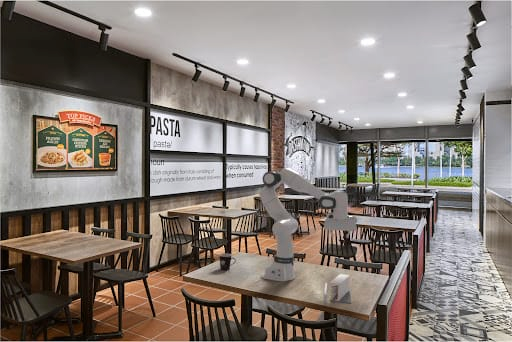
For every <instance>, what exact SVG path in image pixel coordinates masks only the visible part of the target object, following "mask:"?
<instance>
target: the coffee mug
mask: <svg viewBox="0 0 512 342" xmlns="http://www.w3.org/2000/svg"><path fill="white" fill-rule="evenodd" d="M218 256H219V266H220V268H219V269H220V270H221V271H230V270H231V266H232V265H234V264H235V263H236V262H237V260H236V258H235V257H232V254H231V253H220V254H218ZM232 259H233V260H234V261H233V263H231V261H232Z"/></svg>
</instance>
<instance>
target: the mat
mask: <svg viewBox="0 0 512 342" xmlns="http://www.w3.org/2000/svg"><path fill="white" fill-rule="evenodd" d="M332 302H333V303H338V304H339V303H340V304H352V295H351V290H350V289H349V291H348V292H347V293H346V294H345V295H344V296H343V297H342V298H341V299H340V301H336V300H332Z"/></svg>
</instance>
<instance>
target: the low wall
mask: <svg viewBox="0 0 512 342" xmlns="http://www.w3.org/2000/svg"><path fill="white" fill-rule="evenodd" d="M327 295H328V283H327V282H325V283H324V293H323V301H324V302H327V297H328V296H327Z"/></svg>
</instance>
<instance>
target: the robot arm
mask: <svg viewBox="0 0 512 342" xmlns="http://www.w3.org/2000/svg"><path fill="white" fill-rule="evenodd" d="M262 183H263V185H264V187H263V188H261V189H260V190H259V193H258V194H259V195H258V196H259V199H260V200H261V202H262V205H263V206H264V208H265V210H266V212H267V214H268V216H269V217H271V218H272V219H273V220H275V222H274V224H273V225H272V228H271V230H272V234H273V235H274V237H275V241H276V254H274V255H273V261H272V262H270V263H268V264H267V265H266V266H265V269H264V272H262V273H261V276H260V278H262V279H266V280H270V281H277V282H288V281H292V280H295V278H296V275H295V269H294V265H295V256H294V247H295V246H294V245H295V244H294V243H293V241H292V237H291V236H292V234H295V232H296V231H297V230H298V228H299V222H298V220H297V219H296V218H295V217H293V216H292V215H291V214H290V213H289V212H288V211H287V209H286V208H285V207H284V205H283V203H282V202H281V201H280V199H279V197H278V195H277V193H276V191H277V190H278V189H279V188H281V186H282V185H283V184H284V185H286V186H287V187H289V188H290V189H292V190H294V191H295V192H298V193H305V194H309V195H310V196H313V197H314V198H315V199H317V200H318V207H320V208H321V209H322V210H324V211H329V210H333V212H330V213H327V214H326V215H325V216H326V218H325V219H324V224H323V229H324V230H327V231H329V233H330V237H331V238H333V237H334V233H333V232H332V231H345V232H348V233H347V234H346V235H345V236H346V237H345V238H347V239H349V235H350V234H351V232H357V223H358V218H357V217H356V216H350V215H348V212H349V211H348V205H349V204H348V203H349V202H348V201H349V198H348V194H347V192H346V191H344V190H340V189H339V190H338V189H336V190H334V191H332V192H331V193H330V192H329V193H328V192H325V191H323V190H321V189H320V188H318V187H316V186H315V185H314V184H312V183H311V182H310V181H309V180H307V179H306V178H305V177H304V176H303V175H301V174H300V173H299V172H297V171H295V170H294V169H291V168H289V167H284V168H282V169H281V170H280V171H271V170H270V171H267V172H265V173H263V175H262Z"/></svg>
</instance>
